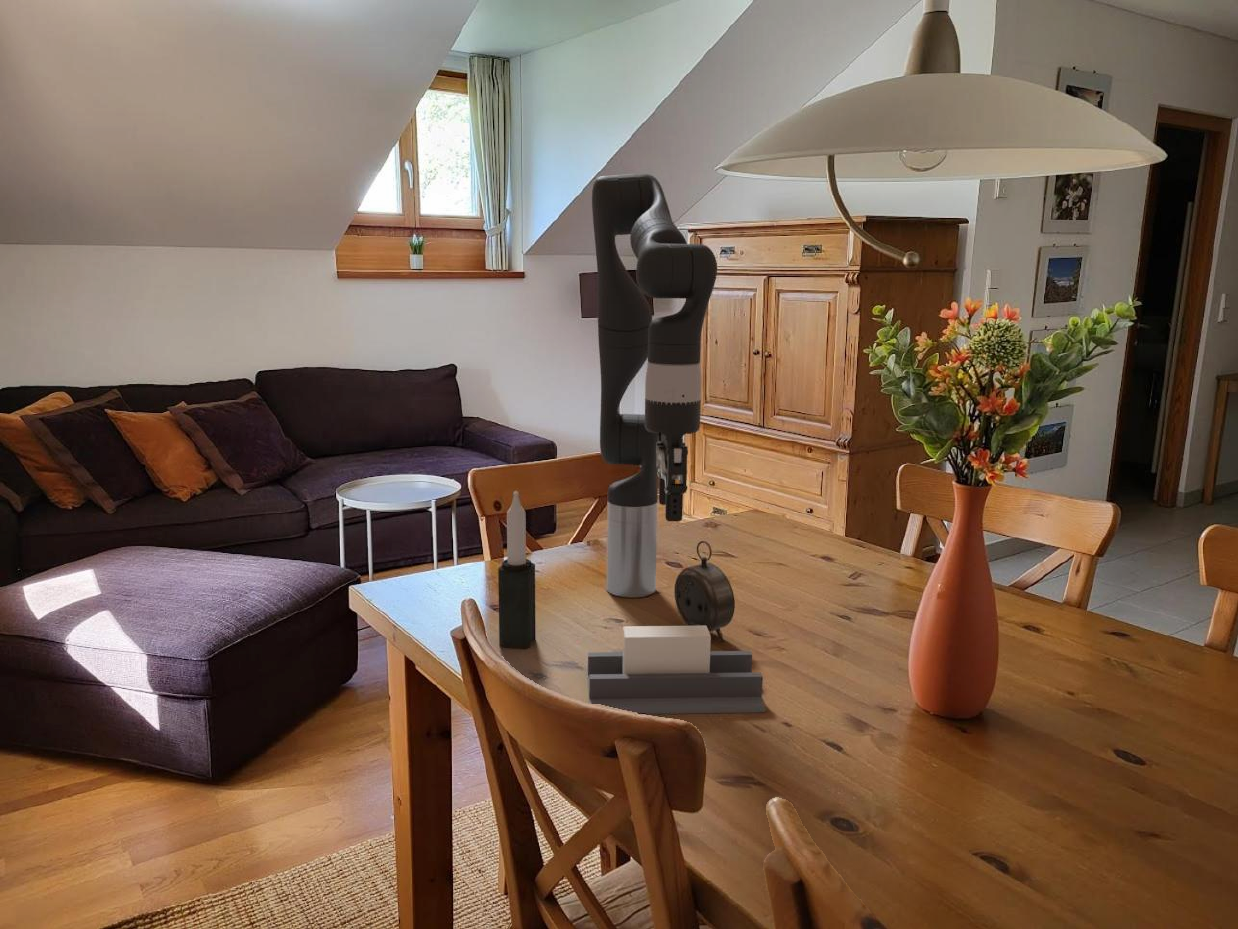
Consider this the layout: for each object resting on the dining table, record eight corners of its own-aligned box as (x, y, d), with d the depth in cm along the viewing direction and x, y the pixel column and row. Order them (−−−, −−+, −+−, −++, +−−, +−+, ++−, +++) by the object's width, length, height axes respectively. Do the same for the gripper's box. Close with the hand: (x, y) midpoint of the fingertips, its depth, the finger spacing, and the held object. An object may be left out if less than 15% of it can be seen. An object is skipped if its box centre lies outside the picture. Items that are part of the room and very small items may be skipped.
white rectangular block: (622, 678, 133) (623, 626, 132) (704, 677, 134) (706, 625, 132) (624, 690, 129) (625, 637, 128) (708, 689, 130) (710, 636, 129)
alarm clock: (735, 643, 149) (739, 546, 146) (709, 650, 146) (713, 552, 143) (692, 621, 158) (695, 530, 154) (667, 628, 155) (669, 535, 151)
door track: (587, 670, 138) (587, 645, 137) (745, 668, 140) (747, 643, 139) (589, 714, 124) (590, 687, 124) (765, 712, 126) (766, 685, 125)
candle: (528, 649, 145) (526, 496, 140) (497, 646, 146) (494, 494, 141) (537, 637, 150) (536, 488, 145) (507, 634, 151) (505, 486, 146)
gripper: (708, 404, 117) (704, 526, 121) (693, 388, 131) (690, 499, 135) (650, 404, 117) (647, 527, 120) (640, 388, 131) (638, 499, 134)
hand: (670, 512), depth 127 cm, fingers open, 8 cm apart
